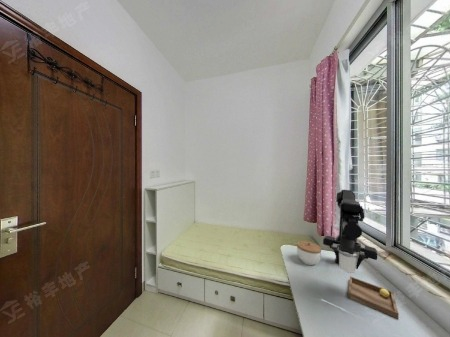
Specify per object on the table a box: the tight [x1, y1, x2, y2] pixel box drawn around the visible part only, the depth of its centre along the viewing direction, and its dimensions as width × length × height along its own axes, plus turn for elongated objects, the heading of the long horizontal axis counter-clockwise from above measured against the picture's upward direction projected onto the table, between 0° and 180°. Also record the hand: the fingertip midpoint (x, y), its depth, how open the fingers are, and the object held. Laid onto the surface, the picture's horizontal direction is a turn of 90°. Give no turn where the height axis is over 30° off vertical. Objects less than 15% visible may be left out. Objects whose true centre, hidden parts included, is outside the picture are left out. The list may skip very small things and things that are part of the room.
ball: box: [380, 288, 389, 297], centre depth 71 cm, size 3×3×3 cm
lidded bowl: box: [296, 240, 322, 266], centre depth 96 cm, size 13×13×11 cm
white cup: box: [338, 250, 359, 274], centre depth 73 cm, size 7×7×7 cm
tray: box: [347, 276, 400, 320], centre depth 70 cm, size 15×15×2 cm
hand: (347, 265), depth 74 cm, fingers closed on white cup, 6 cm apart
